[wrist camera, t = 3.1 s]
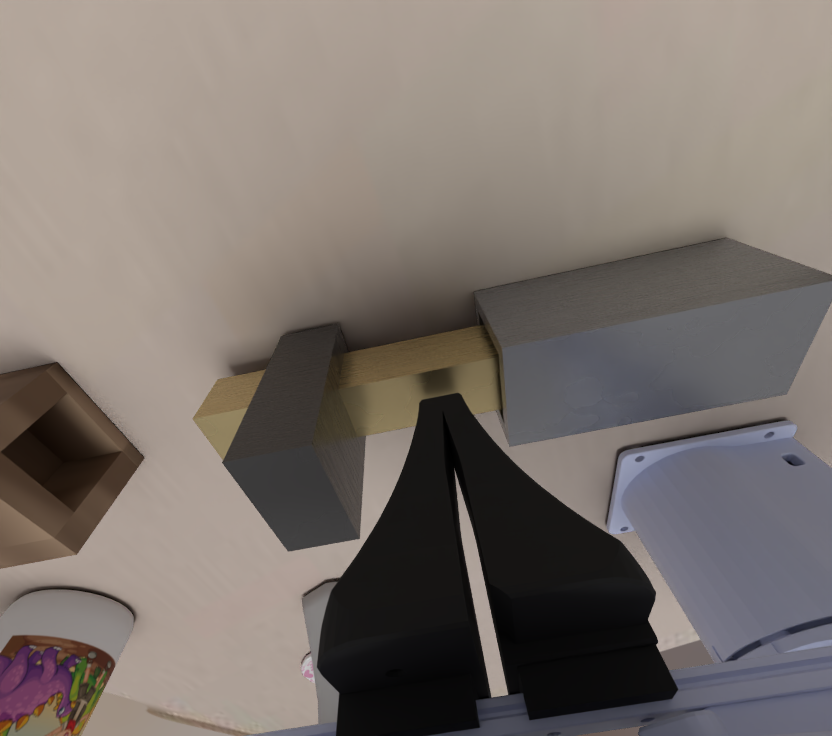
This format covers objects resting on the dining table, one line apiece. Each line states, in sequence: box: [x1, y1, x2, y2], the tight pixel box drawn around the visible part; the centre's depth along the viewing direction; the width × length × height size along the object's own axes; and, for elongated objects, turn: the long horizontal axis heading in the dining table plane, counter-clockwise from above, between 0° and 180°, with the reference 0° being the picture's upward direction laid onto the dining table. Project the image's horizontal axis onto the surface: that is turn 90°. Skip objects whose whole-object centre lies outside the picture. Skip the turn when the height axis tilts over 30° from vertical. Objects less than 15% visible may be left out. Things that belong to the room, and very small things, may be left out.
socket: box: [0, 362, 144, 569], centre depth 15 cm, size 5×6×5 cm
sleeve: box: [474, 238, 832, 447], centre depth 14 cm, size 10×4×4 cm, turn 101°
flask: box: [302, 582, 339, 724], centre depth 25 cm, size 7×7×10 cm
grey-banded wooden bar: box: [193, 324, 503, 551], centre depth 13 cm, size 20×4×7 cm, turn 101°
